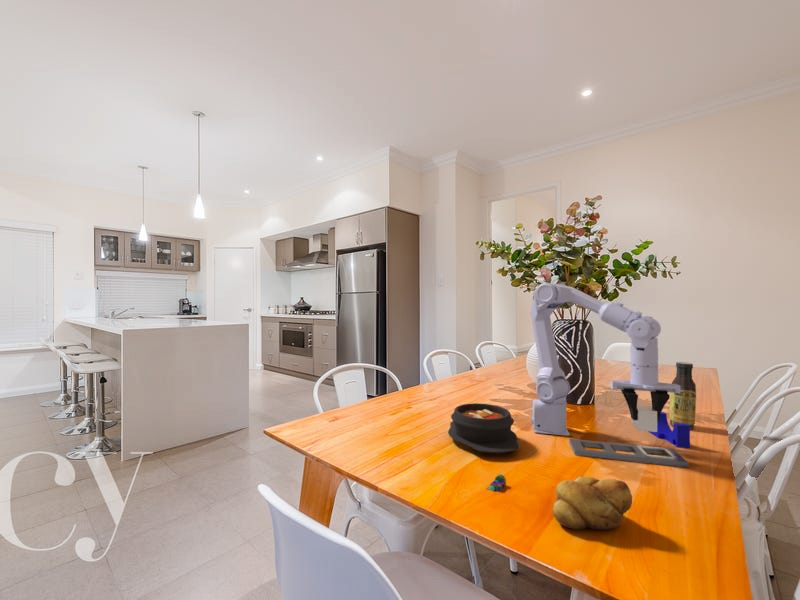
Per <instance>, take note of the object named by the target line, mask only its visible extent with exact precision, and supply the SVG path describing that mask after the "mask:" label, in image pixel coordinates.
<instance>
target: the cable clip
mask: <svg viewBox="0 0 800 600" xmlns="http://www.w3.org/2000/svg"><path fill="white" fill-rule="evenodd" d="M667 415H668V414H667V413H666V412H664V411H662V412H661V414H660V418H659V422H657V432H651V431H647V432H648V433H649V434H651V435H652V436H654V437H656V438H657V439H661V440H663V439H664V440H665V441H667V442H668V443H669V444H672V445H673V446H675V447H676V448H684V449H685V448H686V449H691V429H690V426H689V425H687V424H676V423H674V426H673V429H671V427H670V423H669V420H668V417H667Z"/></svg>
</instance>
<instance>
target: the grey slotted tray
mask: <svg viewBox="0 0 800 600" xmlns="http://www.w3.org/2000/svg"><path fill="white" fill-rule="evenodd" d="M568 439H569V440H568V443H569V446H570V448H571V450H572V452H573V454H574V456H582V457H588V458H596V459H597V458H598V459H608V460H616V461H623V462H624V461H626V462H635V463H642V464H643V463H644V464H650V463H651V464H653V465H661V466H670V467H679V468H687V469H688V468H689V462H688V461H687V460H686V459H685V458H684V457H682V456H681V455H680V454H679V453H678V452H677V451H676V450H675V449H673V448H668V447H659V446H648V445H637V444H627V443H626V444H625V443H616V442H605V441H597V440H587V439H577V438H568ZM584 447H586V449H585V448H584ZM587 448H593V449H587ZM595 448H596V449H602V450H596V449H595ZM616 451H625V452H632V453H633V454H632V453H623V452H616ZM653 454H654V455H653Z"/></svg>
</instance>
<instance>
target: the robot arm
mask: <svg viewBox="0 0 800 600" xmlns="http://www.w3.org/2000/svg"><path fill="white" fill-rule="evenodd" d="M532 295H533V301H532V304H531V307H530V319H531V323H532V324H531V325H532V329H533V330H532V331H533V334H534V340H535V341H534V343H535V347H536V353H537V358H538V364H539V371H538V373H537V375H536V386H535V392H536V395H537V397H538V399H532V418H531V424H532V427H533V431H534V433H536V434H549V435H557V436H567V437H570V436H571V435H570V434H571V433H570V432H569V430H568V428H567V396H569V394H570V391H571V385H570V382H569V381H568V380H567V377H566V374H565V372H564V371H563V369H562V368H561V366H560V363H559V359H558V354H557V353H558V352H557V346H556V342H555V335H554V331H553V326H552V321H551V315H552V313H554V312H555V310H556V309H558V307H560V306H562V305H564V304H566V303H573V304H576V305H577V306H579V307H582V308H584V309H587V310H589V311H591V312H594V313H596V314H598V315H599V318H600V320H601V322H603V323H606V324H608V325H609V326H612V327H613V328H615V329H617V330H619V331H621V332H624V333H627V336H628V337H629V338H630V379H629V380H610V381H609V382H610V384H609V385H610V389H611V390H612V391H613V390H615V391H617V390H620V391H621V394H622V395H623V397H624V399H625V402H626V404H627V406H628V409H629V414H630V418H631V419H632V421H633V420H637V406H638V398H639V395H638V394H637V392H636V391H638V392H639V391H640V392H650V393H649V394H650V398H651V399H650V400H651V407H652V408H653V409H655V410H656V411H657V422H659V418H660V414H661V412H663V409H664V408H665V405H666V403H668V401H670V396H671V394H670V393H671V392H672V393H678V394H680V385H678V384H672V383H668V382H660V381H659V347H658V344H659V342H658V336H659V335H660V333H661V330H662V329H661V324H660V322H659V321H658V320H656V319H655V318H653V317H652V316H642V315H643V312H640V311H633V310H632V309H629V308H627V307H625V306H624V303H622V302H618V301H617V302H614V301H611V302H607V303H605V302H603V301H601V300H599V299H597V298H595V297H593V296H591V295H589V294H587V293H585V292H583V291H581V290H579V289H577V288H575V287H572V286H568V285H565V284H563V283H550V282H542V283H540V284H539V285H538V286H537V287H536V288H535V290H534V291H533V292H532Z"/></svg>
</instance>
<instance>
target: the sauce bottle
mask: <svg viewBox="0 0 800 600" xmlns="http://www.w3.org/2000/svg"><path fill="white" fill-rule="evenodd" d="M675 367H676V374H675V375H676V376H675V378H674V379H673V380H672V381H671V384H678V385H680V394H678V393H672V392H670V398H669V401H670V402H669V417H668V419H669V425H671V427H674V423H676V424H687V425H689V426H690V430H694V428H695V424H696V410H697V408H696V407H697V406H696V405H697V387H696V383H695V381H694V380H693V372H692V371H693V368H694V364H693V363H691V362H683V361H677V362H676V364H675Z"/></svg>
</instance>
